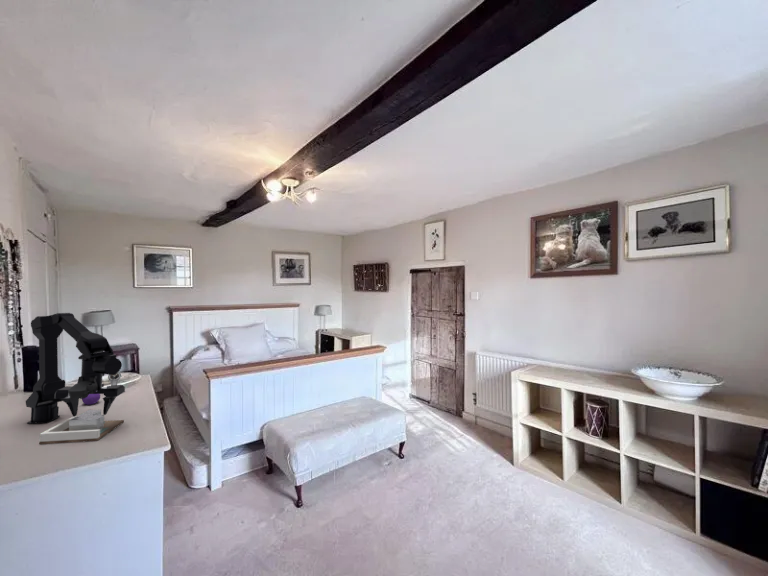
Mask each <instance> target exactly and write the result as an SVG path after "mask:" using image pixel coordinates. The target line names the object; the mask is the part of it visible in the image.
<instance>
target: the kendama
mask: <svg viewBox="0 0 768 576" xmlns="http://www.w3.org/2000/svg"><path fill="white" fill-rule="evenodd" d="M100 399H101V394H89V395H88V396H87V397H86V398H84V399H81V401H82V403H83V404H84V405H88V406H91V405H95V404H97V402H99V401H100Z"/></svg>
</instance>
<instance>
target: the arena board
mask: <svg viewBox="0 0 768 576" xmlns="http://www.w3.org/2000/svg"><path fill="white" fill-rule="evenodd" d="M124 421H125V420H124V419H120V420H119V419H118V420H115V419H114V420H104V429H103V430H101V431H100V437H99V438H94V439H78V440H61V441H44V442H39V441H38V442H39V443H38V444H39V445H48V444H49V445H50V444H51V445H53V444H65V443H81V442H83V441H85V442H96V441H97V442H98V441H99V440H100V438H101V439H102V438H104V437H105V436H107V435H108V434H109V433H110V432H112V431H114V428H115V427H116V428H118V427H119V426H121V425H122V424H123V423H124ZM121 423H122V424H121ZM118 425H119V426H118ZM117 426H118V427H117ZM116 428H115V429H116ZM111 430H112V431H111ZM63 431H69V428H67V429H65V430H63ZM107 433H108V434H107Z"/></svg>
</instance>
